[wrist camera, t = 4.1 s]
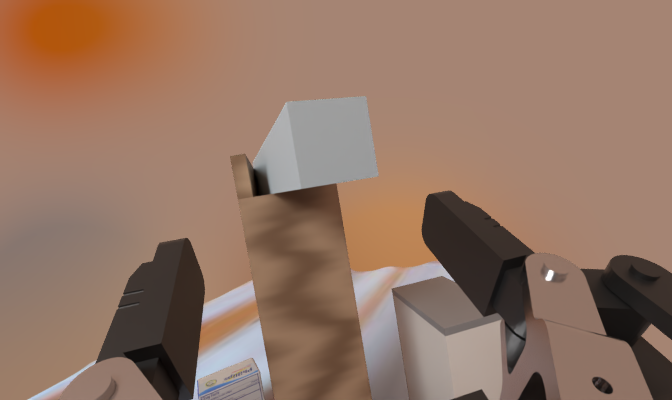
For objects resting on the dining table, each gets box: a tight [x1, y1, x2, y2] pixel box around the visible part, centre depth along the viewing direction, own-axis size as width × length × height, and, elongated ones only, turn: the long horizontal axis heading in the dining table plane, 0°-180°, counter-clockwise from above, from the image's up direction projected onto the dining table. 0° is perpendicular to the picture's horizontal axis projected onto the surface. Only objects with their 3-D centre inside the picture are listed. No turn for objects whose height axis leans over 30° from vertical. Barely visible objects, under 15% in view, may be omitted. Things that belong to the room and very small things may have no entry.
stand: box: [230, 154, 372, 400], centre depth 29 cm, size 7×14×35 cm, turn 13°
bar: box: [253, 96, 378, 196], centre depth 23 cm, size 4×21×4 cm, turn 19°
